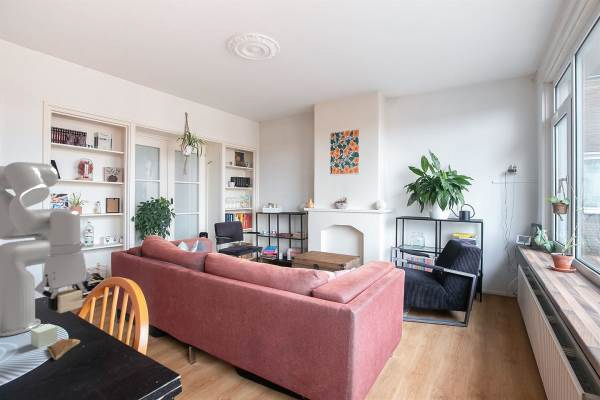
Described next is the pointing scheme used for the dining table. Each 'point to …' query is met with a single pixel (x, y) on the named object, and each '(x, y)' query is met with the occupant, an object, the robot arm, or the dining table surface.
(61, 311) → the beige metal block
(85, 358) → the dining table surface
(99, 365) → the dining table surface
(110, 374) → the dining table surface
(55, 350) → the shard
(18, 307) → the robot arm
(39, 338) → the sage block
